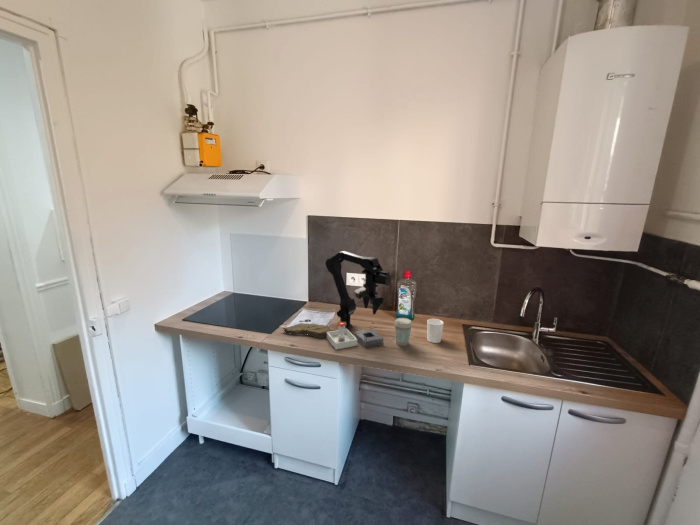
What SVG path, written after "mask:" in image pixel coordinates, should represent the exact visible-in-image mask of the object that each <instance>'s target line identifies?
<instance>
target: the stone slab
mask: <svg viewBox="0 0 700 525" xmlns="http://www.w3.org/2000/svg"><path fill="white" fill-rule="evenodd" d="M282 329H283V332H284V331H285V332H286V333H285V332H284V333H285V334H288V333H291V334H306V335H305V336H309V335H311V336H310V337H313V336H314V337H313V338H317V339H322V338H327V332H331V331H333V330H332V329H331V328H330V327H329V326H328V325H325V324H317V323H303V322H301V323H298V324H294V325H291V326H287V327H282ZM291 334H290V335H291ZM307 334H308V335H307Z"/></svg>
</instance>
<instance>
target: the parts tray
mask: <svg viewBox="0 0 700 525" xmlns="http://www.w3.org/2000/svg"><path fill="white" fill-rule="evenodd" d="M326 339H327V340H328V341H329V343H330V344H331V346H332V347H333V348H334V349H335V350H341V349H346V348H351V347H356V346H358V340H357V339H356V337H355V334H352V332H351V331H350V330H349V329H348V328H345V341H344V342H339V341H338V329H337V330H332V331H331V332H327V337H326Z"/></svg>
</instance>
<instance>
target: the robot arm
mask: <svg viewBox="0 0 700 525" xmlns="http://www.w3.org/2000/svg"><path fill="white" fill-rule="evenodd" d="M344 261H347V262H349V263H353V264H356V265H359V266H360V267H361V268H362V269H363V270H361V273H362V274H364V278H365V279H364V280H365V282H364V283H363V284H362V287H359V288H357V289H355V290H354V291H353V293H354V294H355V295H354V296H355V297H356V298H357V299H358V300H359V299H362V302H363V306H364V309H368V306H369V304H370V305H371V309H372V315H376V313H377V311H379V308H380V306H381V305H382V304H384V303H385V298H384V297H383V296H381V295H378V291H377V287H379V285H381V286H386V287H389V286H390V285H391V283H392V277H391V275H390V272H389V271H384V269H383V267H382V266H381V264H380V262H379V259H378V258H377V257H374V256H362V255H358V254H355V253H352V252H349V251H346V250H342V251H338V253H336V254H335V255H333V256H331V257H329V258H327V259H326V260H325V267H326V268H327V271H328V272H329V273H330V274H331V275H332V277H333V281H334V284H335V287H336V290H337V293H338V296H339V299H340V301H339V308H340V309H339V310H338V311H336V315H337V317H339V320H340V321H344V322H346V326H345V329H348V328H353V324H352V323H351V316H352V315H353V314H354V312H355V311H356V309H357V307H356V306H357V304H356V302H355V298H352V297H350V295H349V292H348V289H347V287H346V286H347V285H346V283H345V281H344V277H343V274H342V267H343V266H342V263H343V262H344Z"/></svg>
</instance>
